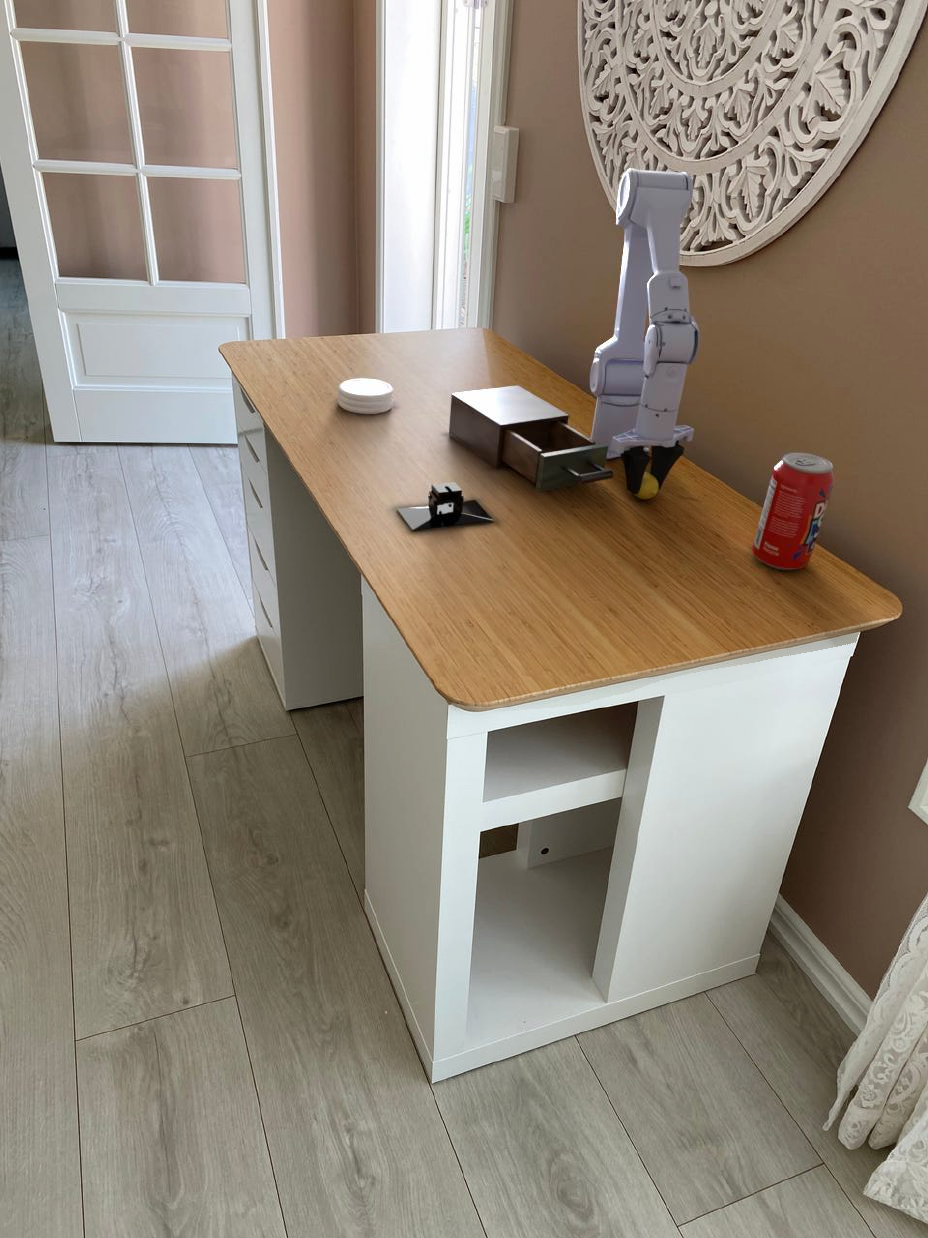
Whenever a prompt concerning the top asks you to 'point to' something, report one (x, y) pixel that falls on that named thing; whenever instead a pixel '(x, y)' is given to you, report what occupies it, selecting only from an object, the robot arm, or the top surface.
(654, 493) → the lemon
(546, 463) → the drawer
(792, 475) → the soda can
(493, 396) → the cabinet
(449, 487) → the black block on plate
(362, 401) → the coaster
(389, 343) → the top surface
